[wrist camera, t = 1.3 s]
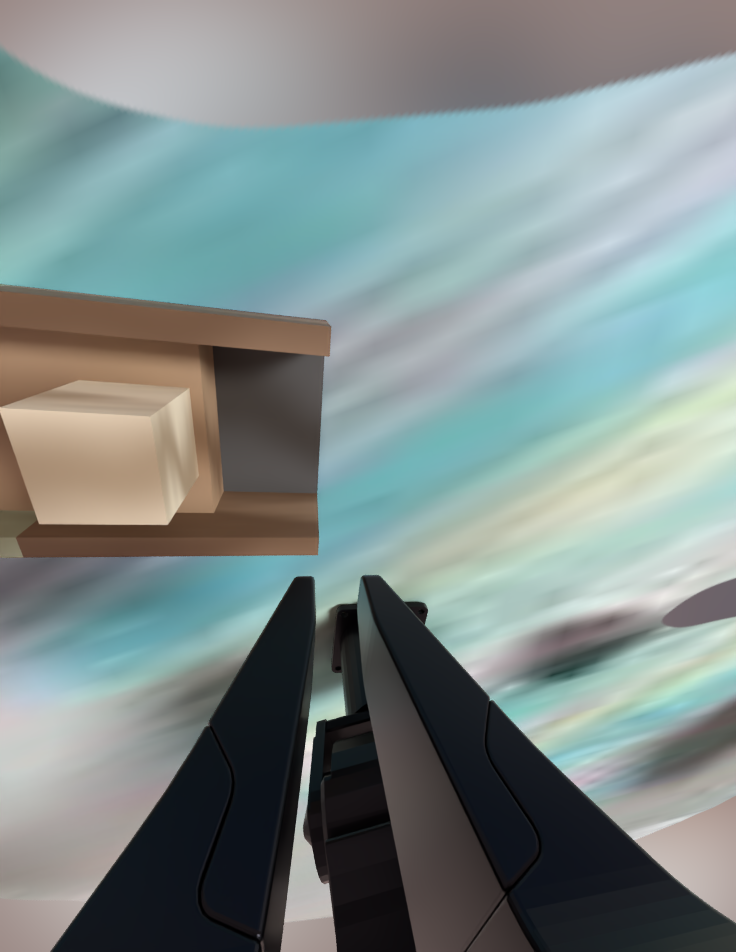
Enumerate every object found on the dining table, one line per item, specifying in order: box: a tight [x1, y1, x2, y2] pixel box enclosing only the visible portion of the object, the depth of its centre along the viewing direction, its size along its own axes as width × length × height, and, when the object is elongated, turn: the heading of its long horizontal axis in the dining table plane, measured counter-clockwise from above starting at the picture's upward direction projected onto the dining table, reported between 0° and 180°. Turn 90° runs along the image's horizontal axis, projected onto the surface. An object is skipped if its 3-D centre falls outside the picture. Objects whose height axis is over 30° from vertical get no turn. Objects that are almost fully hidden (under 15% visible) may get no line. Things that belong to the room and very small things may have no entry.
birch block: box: [0, 380, 199, 525], centre depth 13 cm, size 4×4×4 cm
